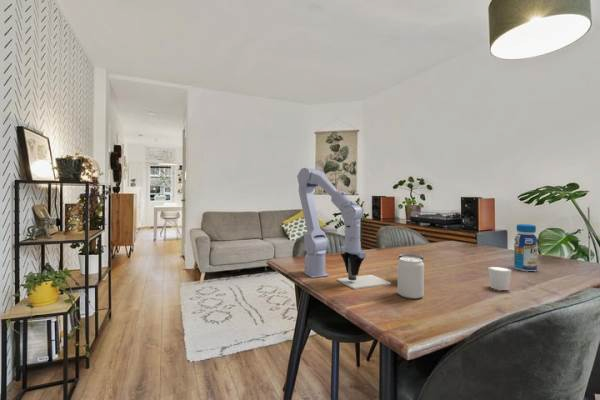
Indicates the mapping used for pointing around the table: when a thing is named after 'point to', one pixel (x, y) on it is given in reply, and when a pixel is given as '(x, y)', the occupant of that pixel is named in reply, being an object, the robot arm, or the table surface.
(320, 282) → the table surface
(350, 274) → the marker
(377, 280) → the paper pad
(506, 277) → the white cylinder
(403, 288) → the beverage can
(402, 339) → the table surface
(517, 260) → the blue supplement bottle
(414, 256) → the coffee mug
